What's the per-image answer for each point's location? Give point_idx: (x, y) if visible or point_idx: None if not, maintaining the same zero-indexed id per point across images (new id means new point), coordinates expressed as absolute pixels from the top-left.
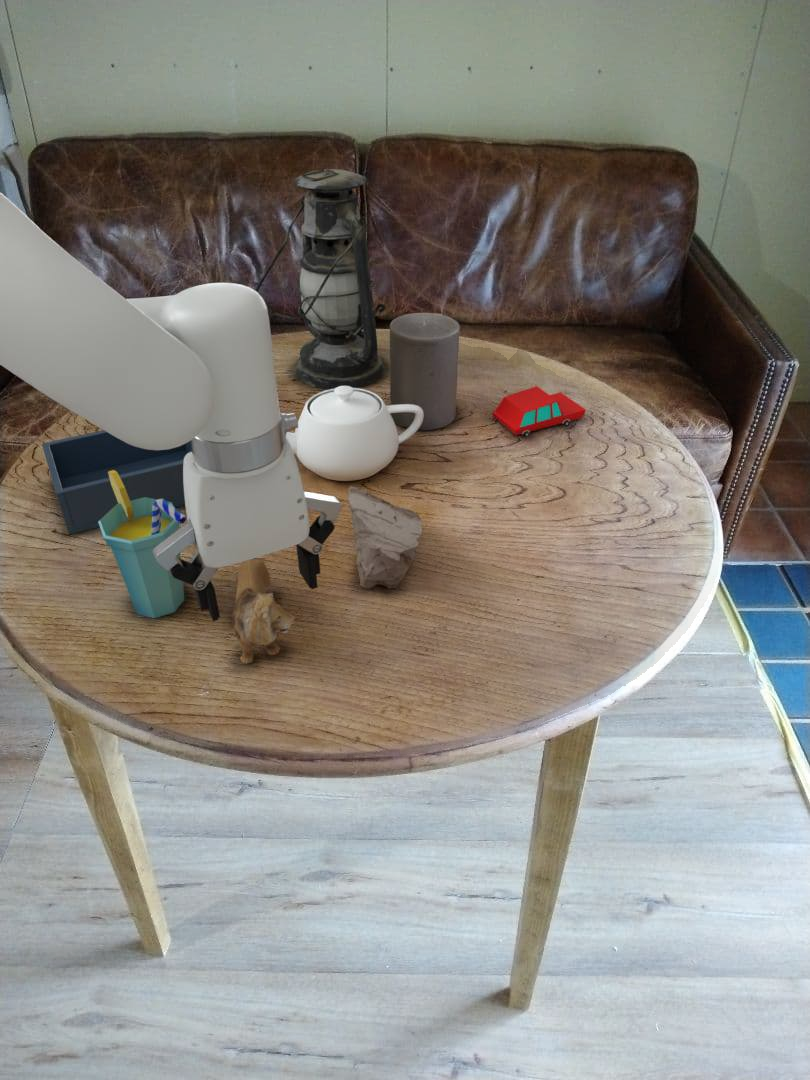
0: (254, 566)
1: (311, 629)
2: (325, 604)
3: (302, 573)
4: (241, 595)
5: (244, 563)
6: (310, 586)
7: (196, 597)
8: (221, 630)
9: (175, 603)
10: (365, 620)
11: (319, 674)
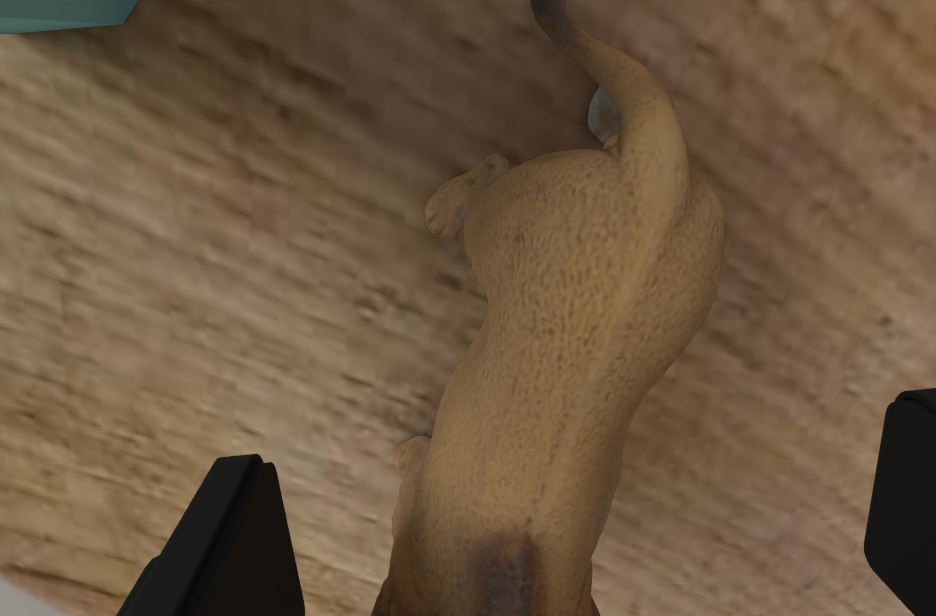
0: (644, 358)
1: (705, 381)
2: (827, 257)
3: (906, 476)
4: (464, 558)
5: (582, 281)
6: (879, 572)
7: (139, 582)
8: (348, 253)
9: (114, 4)
10: None
11: (637, 587)
